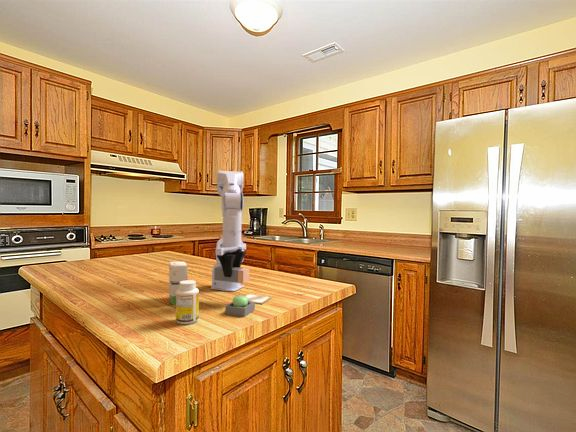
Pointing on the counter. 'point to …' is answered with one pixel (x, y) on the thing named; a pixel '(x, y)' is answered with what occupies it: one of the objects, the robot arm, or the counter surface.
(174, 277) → the ink box
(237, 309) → the button housing
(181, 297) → the supplement bottle
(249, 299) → the sheet
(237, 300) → the button
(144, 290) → the counter surface
